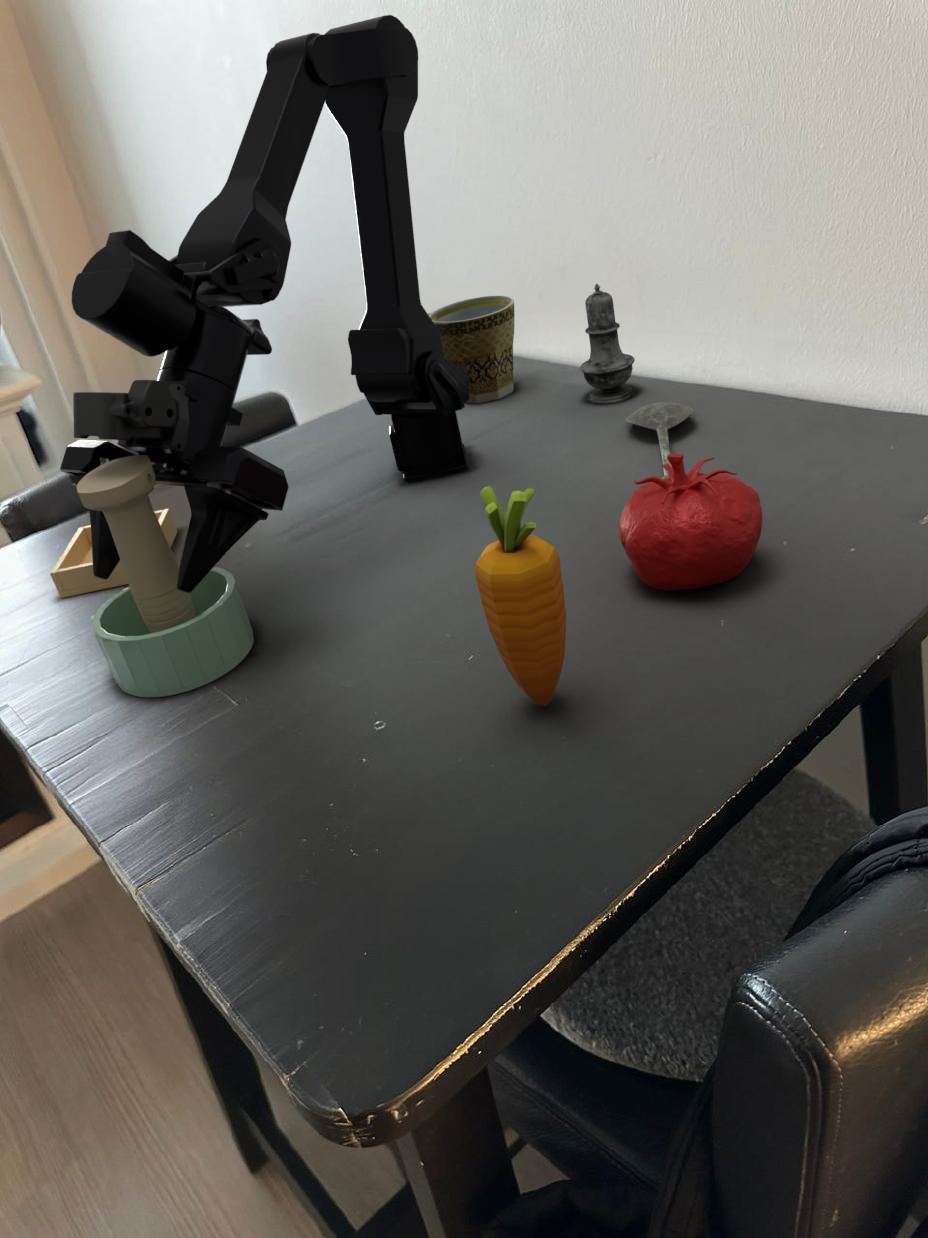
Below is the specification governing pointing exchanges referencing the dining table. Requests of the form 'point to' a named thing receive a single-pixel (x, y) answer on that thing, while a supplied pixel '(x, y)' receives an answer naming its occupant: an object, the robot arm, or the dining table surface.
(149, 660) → the green bowl
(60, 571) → the tray
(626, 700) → the dining table surface
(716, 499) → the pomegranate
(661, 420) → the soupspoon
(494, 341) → the ceramic cup
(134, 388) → the robot arm
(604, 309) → the salt shaker
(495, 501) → the carrot
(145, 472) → the handle
